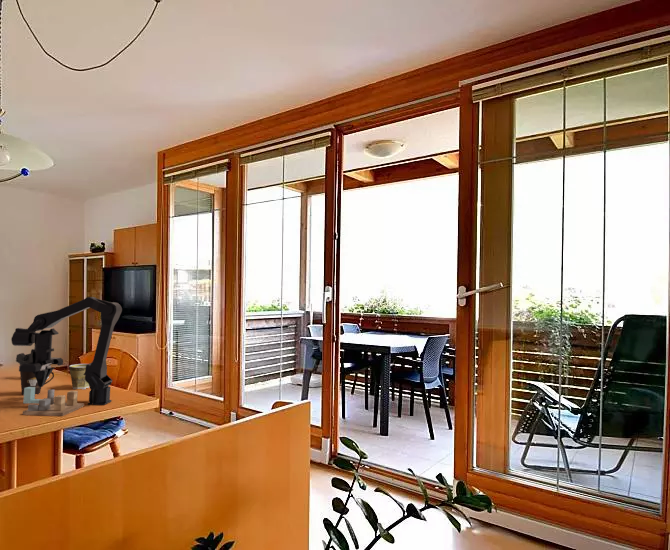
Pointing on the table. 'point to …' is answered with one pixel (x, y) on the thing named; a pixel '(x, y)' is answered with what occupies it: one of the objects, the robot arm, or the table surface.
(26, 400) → the teal l-shaped block
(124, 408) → the table surface
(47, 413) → the block puzzle board
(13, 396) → the table surface
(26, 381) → the coffee mug
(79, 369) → the ceramic cup
